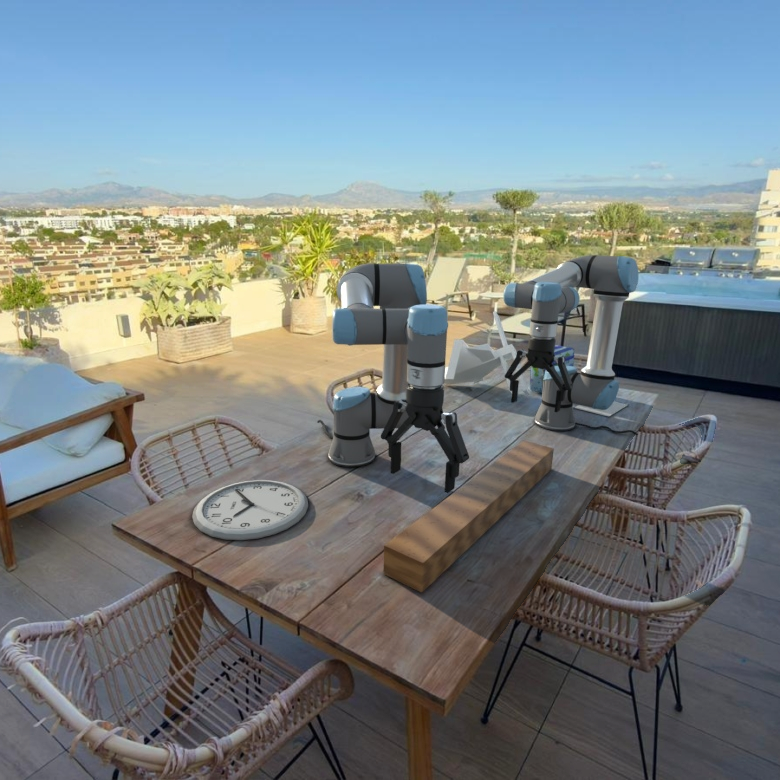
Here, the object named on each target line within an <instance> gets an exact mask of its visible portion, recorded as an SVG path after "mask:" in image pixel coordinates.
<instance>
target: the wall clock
mask: <svg viewBox="0 0 780 780" xmlns="http://www.w3.org/2000/svg"><path fill="white" fill-rule="evenodd" d="M308 509H309V502H308V498H307V496H306V494H305V493H304V492H303V491H302V490H300V489H299V488H297V487H296V486H294V485H292V484H289V483H286V482H284V481H283V482H282V481H276V480H268V479H267V480H266V479H257V480H245V481H240V482H236V483H231V484H229V485H226V486H223V487H220V488H218V489H216V490H214V491H212V492H210V493H209V494H207V495H205V497H203V498H202V499H201V500H200V501H198V503H197V504H196V506H195V507H194V508H193V512H192V516H191V517H192V521H193V524H194V526H195V527H196V528H197V530H199V531H200V532H201V533H203V534H206V535H207V536H210V537H212V538H216V539H222V540H226V541H227V540H229V541H245V540H246V541H247V540H256V539H261V538H265V537H266V538H267V537H271V536H274V535H276V534H278V533H281V532H283V531H286V530H288V529H289V528H291V527H293V526H295V525H296V524H297V523H299V522H300V521H301V520H302V518H304V516H305V515H306V513H307V511H308Z"/></svg>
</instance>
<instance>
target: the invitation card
mask: <svg viewBox="0 0 780 780" xmlns="http://www.w3.org/2000/svg"><path fill="white" fill-rule="evenodd" d="M628 406H629V404H627V403H623V402H618V401H614V402H613V404H612V405H611V406H610V407H609V408H608V409H606V410H600V409H593V408H591V407H587V406H583V405H579V404H577V405H575V406H574V407H573V409H575V410H581V411H584V412H587V413H593V414H596V415H600V416H604V417H608V418H609V417H611V416H613V415H614V414H616V413H617V412H619V411H621V410H623V409H624V408H626V407H628Z"/></svg>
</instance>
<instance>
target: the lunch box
mask: <svg viewBox="0 0 780 780" xmlns="http://www.w3.org/2000/svg"><path fill="white" fill-rule="evenodd" d="M554 355H555V356H565V365H566V366H573V367H574V363H575V348H573V347H571V346H570V347H568V346H563V345H556V344H555V350H554ZM552 364H553V365H554V366H558V364H557V363H556V361H555V360H554V361H553V362H552ZM545 371H546V369H539V368H533V367H532V366H530V374H529V391H532V392H536V393H540V394H542V391H543V381H544V380H543V379H544V375H545Z"/></svg>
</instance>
